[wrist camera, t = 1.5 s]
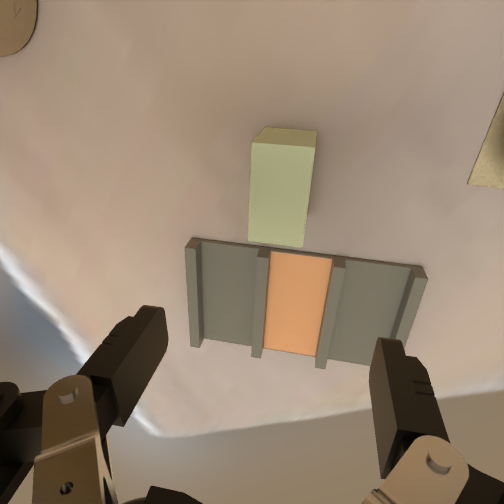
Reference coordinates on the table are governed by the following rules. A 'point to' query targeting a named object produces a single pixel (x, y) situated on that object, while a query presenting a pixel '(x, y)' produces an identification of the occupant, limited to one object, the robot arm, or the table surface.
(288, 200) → the plug
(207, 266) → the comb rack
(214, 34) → the table surface
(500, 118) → the condiment
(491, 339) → the table surface
